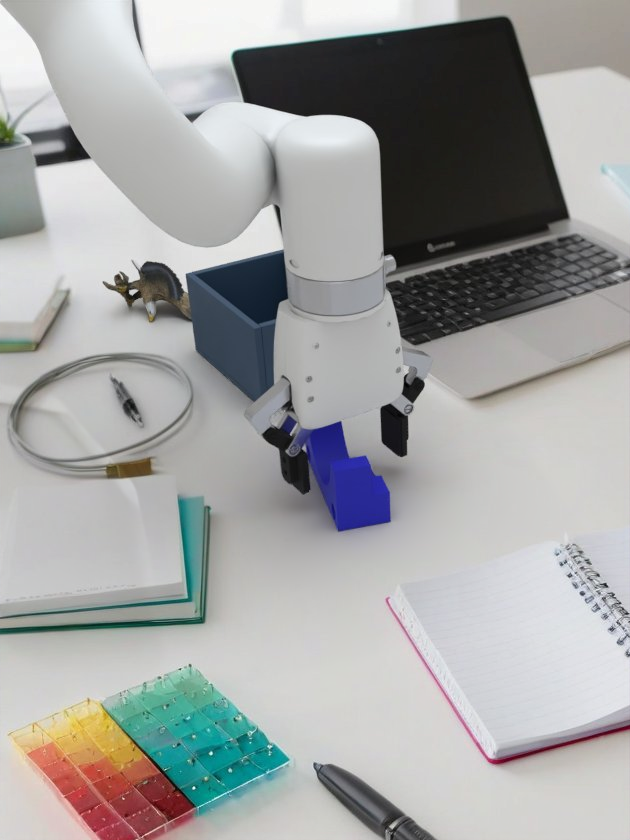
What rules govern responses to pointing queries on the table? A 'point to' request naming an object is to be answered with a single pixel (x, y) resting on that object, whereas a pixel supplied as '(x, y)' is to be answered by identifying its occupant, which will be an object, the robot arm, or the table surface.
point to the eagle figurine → (152, 288)
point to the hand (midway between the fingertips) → (347, 467)
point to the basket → (239, 318)
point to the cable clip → (346, 481)
